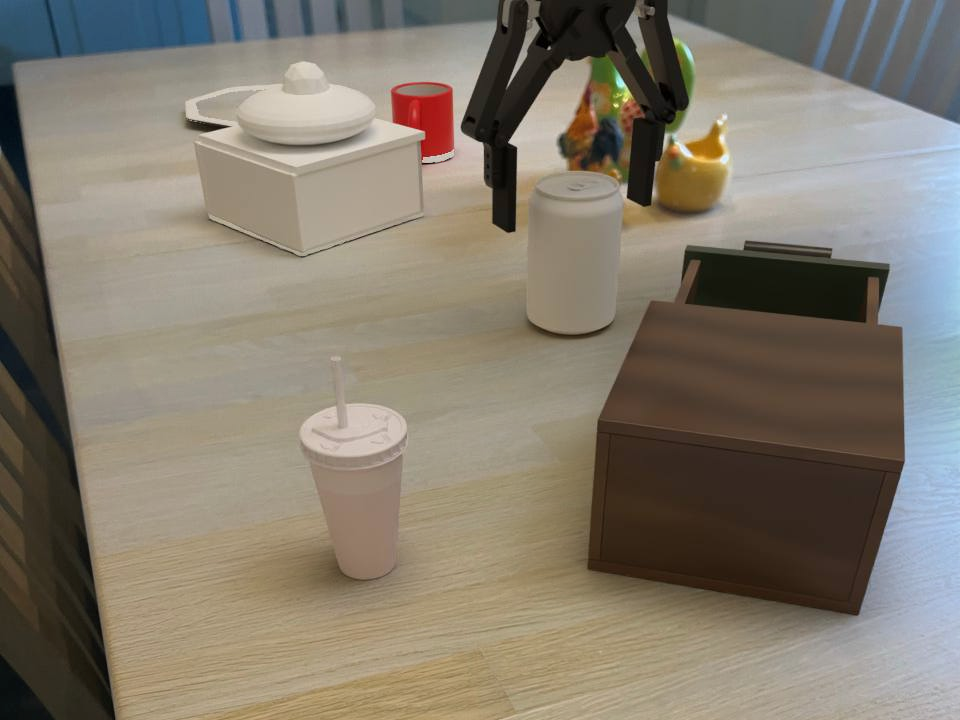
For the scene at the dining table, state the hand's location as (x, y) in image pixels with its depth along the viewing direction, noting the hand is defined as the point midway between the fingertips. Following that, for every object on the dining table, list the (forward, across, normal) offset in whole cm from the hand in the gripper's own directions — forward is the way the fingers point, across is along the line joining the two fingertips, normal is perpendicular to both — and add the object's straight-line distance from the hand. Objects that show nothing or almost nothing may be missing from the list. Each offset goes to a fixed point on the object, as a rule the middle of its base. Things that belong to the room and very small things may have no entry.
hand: (573, 214), depth 87 cm
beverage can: (+10, 0, 0) cm, 10 cm away
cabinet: (+9, +7, +33) cm, 35 cm away
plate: (+10, 0, -85) cm, 85 cm away
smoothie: (+10, +31, +26) cm, 41 cm away
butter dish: (+10, +10, -38) cm, 41 cm away
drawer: (+8, -5, +21) cm, 23 cm away
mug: (+10, -10, -52) cm, 54 cm away
